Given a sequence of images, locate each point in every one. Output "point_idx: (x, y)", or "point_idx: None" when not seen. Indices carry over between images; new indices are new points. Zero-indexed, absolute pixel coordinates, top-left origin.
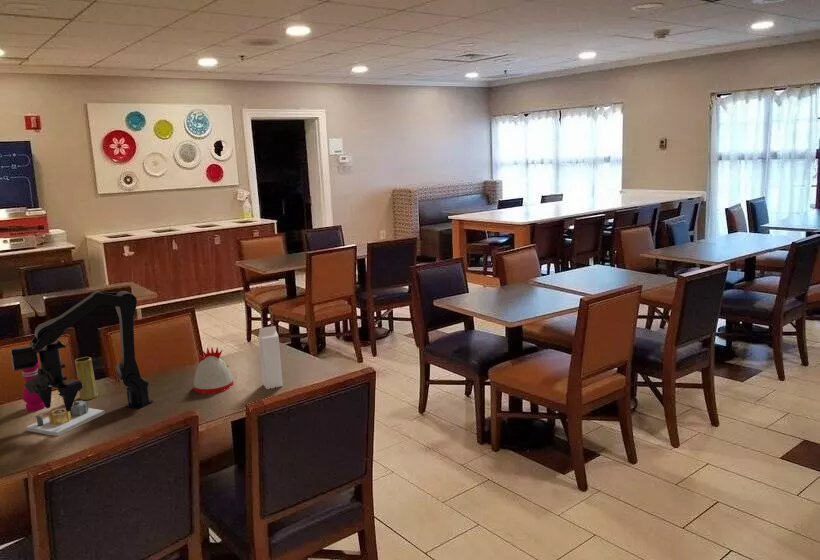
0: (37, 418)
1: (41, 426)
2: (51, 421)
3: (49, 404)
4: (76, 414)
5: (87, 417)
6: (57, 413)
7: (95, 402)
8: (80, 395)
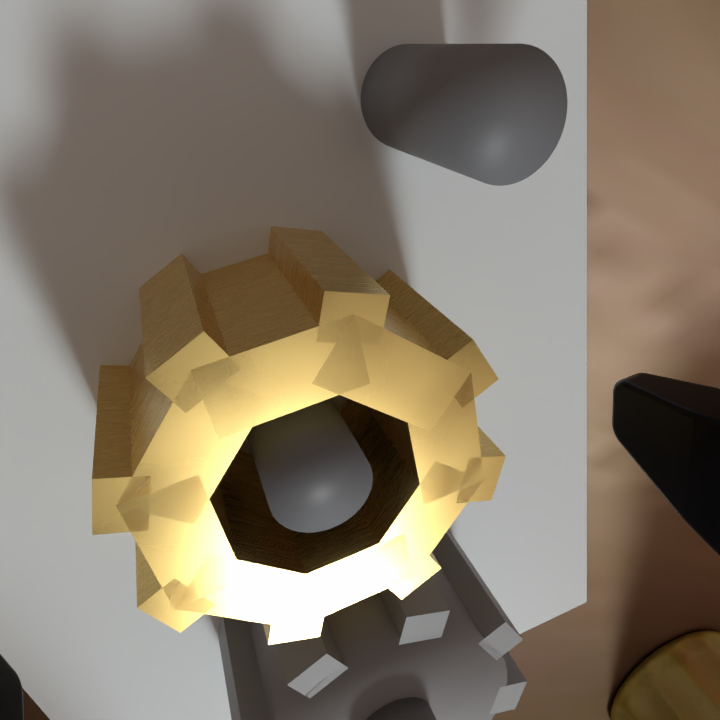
0: (467, 48)
1: (325, 71)
2: (280, 263)
3: (662, 470)
4: None
5: (51, 673)
6: (293, 444)
7: (523, 710)
8: (716, 669)
